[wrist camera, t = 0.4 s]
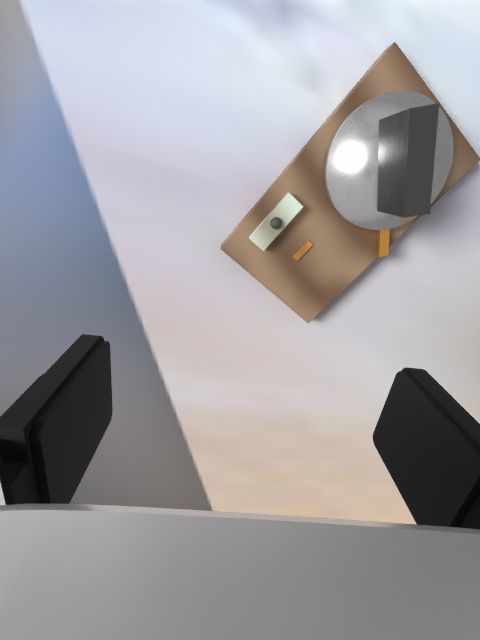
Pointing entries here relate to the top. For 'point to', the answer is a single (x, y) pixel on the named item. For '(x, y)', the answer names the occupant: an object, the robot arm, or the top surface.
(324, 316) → the top surface
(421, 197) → the cam dial
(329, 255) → the levelling base
